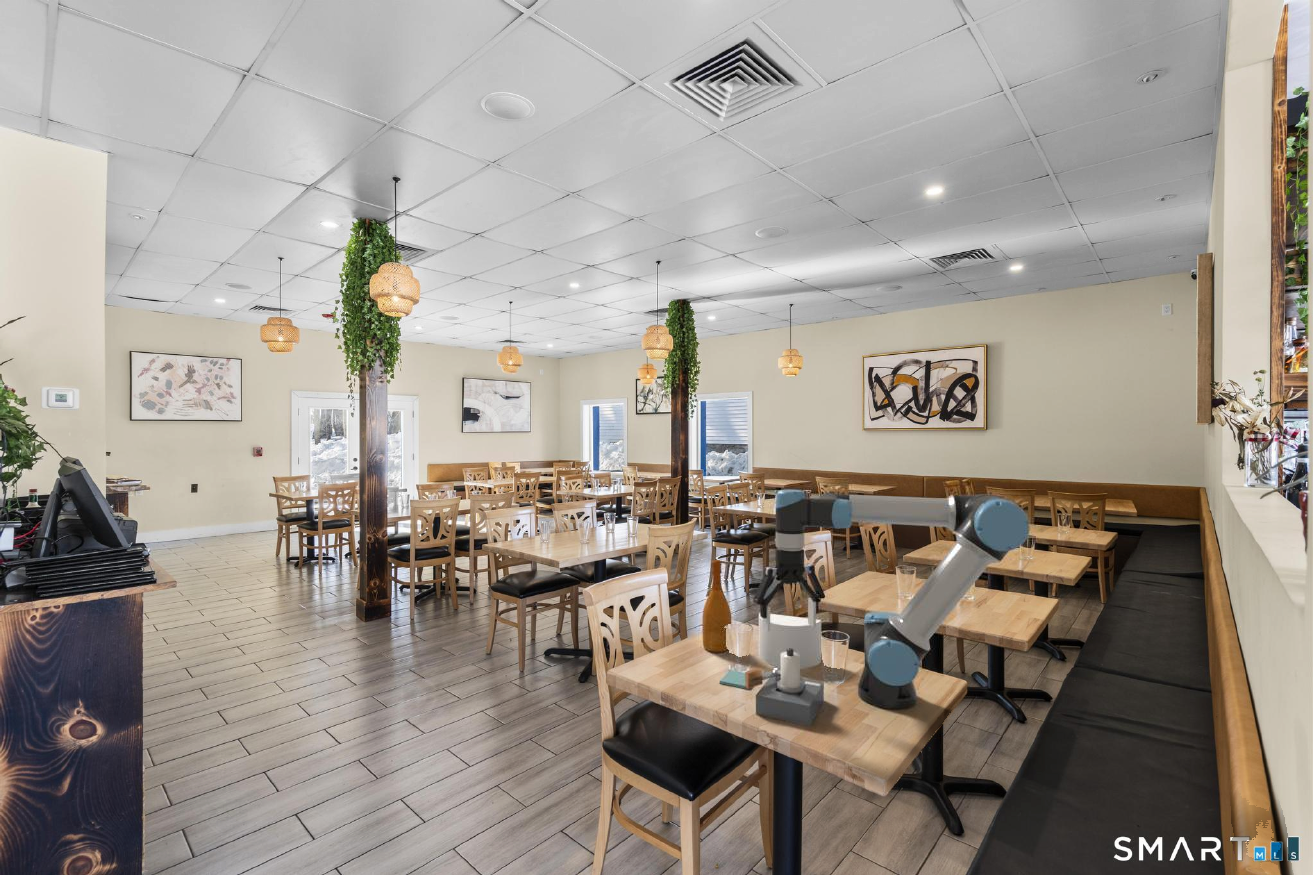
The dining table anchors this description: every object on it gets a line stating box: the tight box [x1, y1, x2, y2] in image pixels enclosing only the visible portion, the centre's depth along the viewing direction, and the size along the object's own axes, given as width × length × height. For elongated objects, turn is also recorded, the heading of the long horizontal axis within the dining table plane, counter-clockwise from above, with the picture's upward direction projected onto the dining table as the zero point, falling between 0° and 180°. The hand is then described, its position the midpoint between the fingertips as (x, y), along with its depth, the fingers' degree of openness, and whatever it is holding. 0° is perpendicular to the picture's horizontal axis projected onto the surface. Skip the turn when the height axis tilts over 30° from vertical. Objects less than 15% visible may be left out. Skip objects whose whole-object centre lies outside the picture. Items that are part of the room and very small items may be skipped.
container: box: [758, 612, 822, 670], centre depth 198 cm, size 20×20×13 cm
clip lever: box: [744, 666, 781, 689], centre depth 166 cm, size 18×3×4 cm, turn 123°
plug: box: [777, 648, 804, 696], centre depth 162 cm, size 7×7×16 cm
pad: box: [719, 669, 751, 690], centre depth 179 cm, size 9×9×1 cm
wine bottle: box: [701, 559, 732, 653], centre depth 206 cm, size 10×10×30 cm
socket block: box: [755, 676, 825, 727], centre depth 162 cm, size 14×16×6 cm
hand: (789, 627), depth 162 cm, fingers open, 13 cm apart
